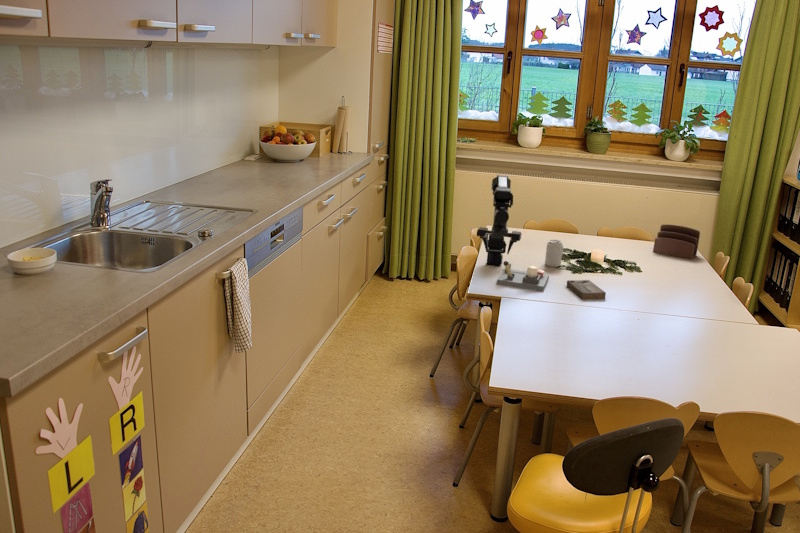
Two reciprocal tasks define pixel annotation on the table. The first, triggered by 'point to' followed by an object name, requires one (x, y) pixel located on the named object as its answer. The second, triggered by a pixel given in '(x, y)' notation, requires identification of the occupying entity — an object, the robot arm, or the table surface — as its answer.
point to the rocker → (540, 272)
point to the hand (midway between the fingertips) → (497, 253)
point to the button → (532, 272)
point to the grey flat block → (586, 289)
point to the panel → (522, 280)
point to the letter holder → (677, 241)
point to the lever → (507, 268)
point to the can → (554, 253)
